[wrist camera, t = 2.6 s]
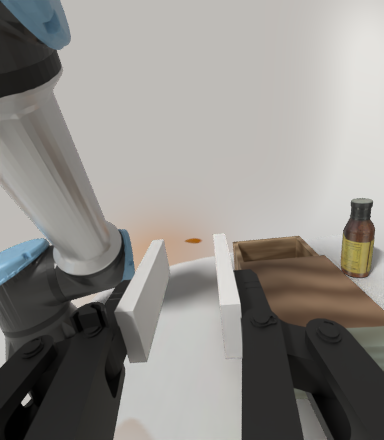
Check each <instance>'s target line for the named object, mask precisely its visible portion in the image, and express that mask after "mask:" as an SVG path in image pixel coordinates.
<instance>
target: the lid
mask: <svg viewBox="0 0 384 440" xmlns="http://www.w3.org/2000/svg"><path fill="white" fill-rule="evenodd" d="M240 268H241V270H245V269H251V270H252V271H253V272H255V273H256V274H257V276H258V278H259V281H260V283H261V286H262V288H263V291H264V293H265V296H266V298H267V301H268V303H269V306H270V308H271V310H272V312H274V313H275V314H276V315H277V316H278V318H279V319H280V320H282V321H284V322H286V323H290V324H293V325H298V326H303V327H306V324H307V323H308V322H309V321H310V320H313V319H316V318H324V319H328V320H332V321H335V322H337V323H338V324H340V325H342V326H343V327H345V328H346V329H347V330H348V331H349V332H350V333H351V334H352V335H353V337H354V338H355V339H356V340H357V341H358V342H359V344H360V345H361V346H362V347H363V348H364V349H365V350H366V352H367V353H368V354H369V355H370V356H371V357H372V359H373V360H374V361H375V362H376V363H377V364H378V365H379V367H380V368H381V369H382V370H383V371H384V310H383V309H382V308H381V307H380V306H379V305H377V304H376V303H375V302H374V301H373V300H372V299H371V298H370V297H369V296H368V295H367V294H366V293H364V292H363V291H362V290H361V289H360V288H359V287H358V286H357V285H356V284H355V283H354V282H353V281H352V280H350V279H349V278H348V277H347V276H346V275H345V274H344V273H343V272H342V271H341V270H340V269H339V268H338V267H336V266H335V265H334V264H333V263H332V262H331V261H330V260H329V259H328V258H327V257H326V256H325V255H321V256H309V257H298V258H286V259H274V260H262V261H250V262H240ZM294 393H295V398H296V399H308V397H307V395H306V393H305V391H302V390H299V389H295V388H294Z"/></svg>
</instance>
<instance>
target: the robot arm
mask: <svg viewBox="0 0 384 440" xmlns="http://www.w3.org/2000/svg"><path fill="white" fill-rule="evenodd" d="M70 39H71V36H70V31H69V26H68V23H67V20H66V16H65V13H64V10H63V8H62V5H61V2H60V0H0V185H1V186H2V187H3V189H4V190H5V191H6V192H7V193H8V194H9V196H10V197H11V198H12V199H13V200H14V201H15V202H16V204H17V205H19V207H20V208H21V209H22V210H23V211H24V213H25V214H26V215H27V216H28V217H29V218H30V220H31V221H32V222H33V223H34V224H35V225H36V226H37V228H38V229H39V230H40V231H41V232H42V233H43V234H44V235H45V237H46V238H47V239H48V240H49V241H50V242H51V243H52V246H50V245H49V242H48V241H47V240H46V239H42V238H41V239H34V240H30V241H27V242H23V243H21V244H18V245H15V246H13V247H10V248H8V249H6V250H4V251H2V252H0V328H1V329H2V331H3V333H4V335H5V340H6V363H5V364H4V365H3V366H2V367H1V368H0V440H113V437H114V432H115V427H116V421H117V416H118V410H119V405H120V399H121V394H122V389H123V383H124V378H125V367H124V364H123V363H124V360H125V357H126V355H128V358H129V361H130V363H137V362H147V360H148V357H149V353H150V349H151V345H152V341H153V338H154V334H155V330H156V326H157V322H158V319H159V315H160V311H161V307H162V303H163V300H164V296H165V292H166V288H167V284H168V281H169V277H170V270H169V264H168V259H167V254H166V249H165V243H164V240H163V239H161V240H153V241H152V243H151V245H150V246H149V248H148V250H147V252H146V254H145V256H144V258H143V260H142V261H141V263H140V265H139V267H138V269H137V271H136V273H135V269H134V261H133V254H132V247H131V242H130V237H129V234H128V232H127V231H126V230H125V229H124V230H123V229H122V230H121V229H117V228H116V227H115V226H114V225H113V224H111V223H110V222H108V221H105V218H104V216H103V213H102V211H101V208H100V206H99V203H98V201H97V199H96V196H95V194H94V191H93V189H92V186H91V184H90V181H89V179H88V177H87V174H86V172H85V169H84V167H83V164H82V162H81V159H80V157H79V154H78V152H77V150H76V147H75V145H74V142H73V140H72V137H71V135H70V132H69V130H68V128H67V125H66V123H65V120H64V118H63V116H62V113H61V110H60V108H59V106H58V103H57V101H56V98H55V96H54V93H53V89H54V87H55V85H56V84H57V82H58V80H59V78H60V77H61V75H62V71H63V69H62V65H61V62H60V59H59V56H58V53H57V50H60V49H62V48H63V47H64V46H66V45H68V44H69V43H70ZM213 239H214V248H215V260H216V270H217V281H218V291H219V302H220V311H221V320H222V330H223V339H224V348H225V357H226V359H232V358H242V440H304V438H303V433H302V428H301V423H300V418H299V413H298V408H297V403H296V398H295V393H294V388H295V389H299V390H302V391H305V393H306V395H307V397H308V399H309V401H310V403H311V405H312V407H313V410H314V412H315V414H316V416H317V418H318V420H319V422H320V424H321V426H322V429H323V431H324V433H325V435H326V437H327V439H328V440H384V371H383V370H382V369H381V368H380V367H379V365H378V364H377V363H376V362H375V361H374V360H373V359H372V357H371V356H370V355H369V354H368V353H367V352H366V350H365V349H364V348H363V347H362V346H361V345H360V344H359V342H358V341H357V340H356V339H355V338H354V337H353V335H352V334H351V333H350V332H349V331H348V330H347V329H346V328H345V327H343V326H342V325H340V324H338V323H337V322H335V321H332V320H328V319H324V318H316V319H313V320H310V321H309V322H308V323H307V324H306V327H303V326H298V325H293V324H290V323H286V322H284V321H282V320H280V319H279V318H278V316H277V315H276V314H275V313H274V312H272V310H271V308H270V306H269V303H268V301H267V298H266V296H265V293H264V291H263V288H262V286H261V283H260V281H259V278H258V276H257V274H256V273H255V272H253V271H252V270H251V269H245V270H233V268H232V264H231V259H230V255H229V251H228V246H227V241H226V237H225V234H224V233H223V234H213ZM112 288H115V289H114V291H113V292H112V294H111V295H110V297H109V300H107V302H106V303H105V305H103V303H100V302H92V303H89V304H85V305H84V306H81V307H80V308H77V307H75V306H74V305H73V304H72V303H71V300H74V299H77V298H81V297H84V296H88V295H91V294H95V293H98V292H102V291H105V290H108V289H112ZM27 393H28V394H29V395H30V397H31V400H30V401H29V402H28V403H27V404H26V405H25V406H23V405H22V404H21V402H22V400H23V399H24V398H25V396H26V395H27Z"/></svg>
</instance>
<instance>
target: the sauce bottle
mask: <svg viewBox="0 0 384 440" xmlns="http://www.w3.org/2000/svg"><path fill="white" fill-rule="evenodd" d="M372 206H373V201H372V200H371V199H365V198H359V199H358V198H357V199H353V200H352V201H351V215H350V219H349V221H348V223H347V224H346V226H345V228H344V230H343V240H342V253H341V269H342V271H343V272H344V273H345V274H347V275H349V276H352V277H356V278H360V277H366V276H368V275H369V271H370V269H371V261H372V253H373V246H374V234H375V227H374V225H373V223H372V221H371V220H370V217H371V216H370V214H371V208H372Z"/></svg>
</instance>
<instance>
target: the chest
mask: <svg viewBox="0 0 384 440" xmlns="http://www.w3.org/2000/svg"><path fill="white" fill-rule="evenodd" d="M233 252H234V265H235V270H241V268H240V262H250V261H262V260H274V259H286V258H298V257H309V256H319V255H318V254H317V253H316V252H315V251H314V250H313V249H312V248H311V247H310V246H309V245H308V244H307V243H306V242H305V241H304V240H303V239H302V238H301V237H300V236H292V237H282V238H271V239H260V240H249V241H239V242H233Z"/></svg>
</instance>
